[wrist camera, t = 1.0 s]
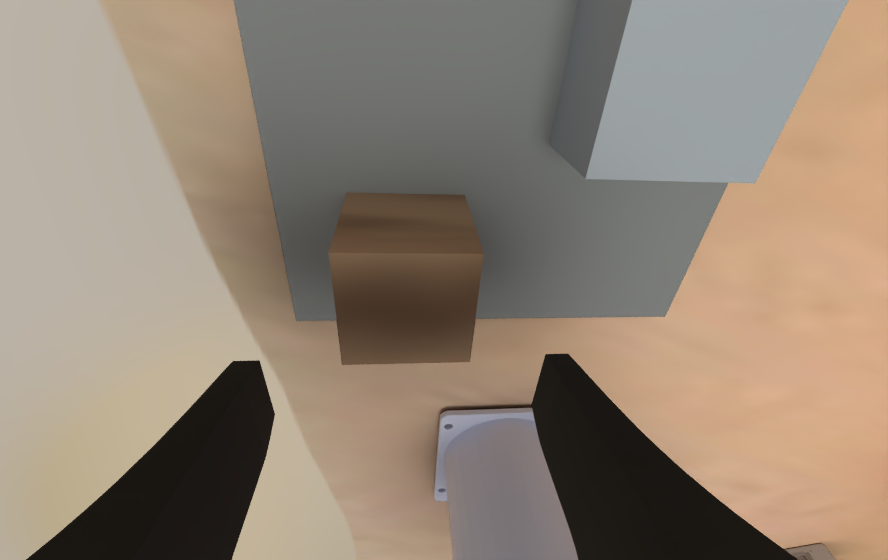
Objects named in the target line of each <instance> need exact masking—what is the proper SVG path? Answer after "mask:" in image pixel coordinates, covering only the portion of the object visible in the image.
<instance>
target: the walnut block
mask: <svg viewBox="0 0 888 560" xmlns="http://www.w3.org/2000/svg"><path fill="white" fill-rule="evenodd" d="M483 257H484V253H483V250H482V247H481V243H480V240H479V237H478V234H477V231H476V228H475V225H474V222H473V219H472V216H471V213H470V210H469V207H468V204H467V201H466V198H465V195H447V194H399V193H350V192H347V193H346V196H345V199H344V203H343V206H342V209H341V213H340V216H339V219H338V223H337V226H336V229H335V233H334V236H333V239H332V243H331V246H330V249H329V262H330V270H331V278H332V286H333V295H334V303H335V311H336V319H337V327H338V336H339V344H340V352H341V360H342V365H352V364H396V363H441V362H470V357H471V349H472V341H473V334H474V326H475V318H476V311H477V303H478V295H479V287H480V280H481V272H482V264H483Z"/></svg>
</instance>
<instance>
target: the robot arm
mask: <svg viewBox="0 0 888 560" xmlns="http://www.w3.org/2000/svg"><path fill="white" fill-rule="evenodd" d="M274 415H275V413H274V410H273V406H272V403H271V400H270V396H269V392H268V389H267V385H266V382H265V378H264V375H263V371H262V368H261V365H260V361H233V362H232V363H231V364H230V365H229V366H228V367H227V368H226V369H225V370H224V371H223V372H222V373H221V375H220V376H219V377H218V378H217V379H216V380H215V381H214V382H213V383H212V385H211V386H210V387H209V388H208V389H207V390H206V391H205V392H204V393H203V394H202V395H201V397H200V398H199V399H198V400H197V401H196V402H195V403H194V404H193V405H192V406H191V407H190V408H189V410H188V411H187V412H186V413H185V414H184V415H183V416H182V417H181V418H180V419H179V420H178V421H177V422H176V423H175V424H174V425H173V426H172V427H171V428H170V429H169V431H168V432H167V433H166V434H165V435H164V436H163V437H162V438H161V439H160V440H159V441H158V442H157V443H156V444H155V445H154V446H153V447H152V448H151V449H150V450H149V451H148V452H147V453H146V454H145V455H144V456H143V457H142V458H141V459H140V460H139V461H138V462H137V463H135V464H134V465H133V466H132V467H131V468H130V469H129V470H128V471H127V472H126V473H125V474H124V475H123V476H122V477H121V478H120V479H119V480H118V481H117V482H116V483H115V484H114V485H113V486H111V487H110V488H109V489H108V490H107V491H106V492H105V493H104V494H103V495H102V496H100V497H99V498H98V499H97V500H96V501H95V502H94V503H93V504H92V505H90V506H89V507H88V508H87V509H86V510H85V511H84V512H83V513H81V514H80V515H79V516H78V517H77V518H76V519H74V520H73V521H72V522H71V523H70V524H69V525H67V526H66V527H65V528H64V529H63V530H62V531H61V532H59V533H58V534H57V535H56V536H55V537H53V538H52V539H51V540H50V541H49V542H47V543H46V544H45V545H44V546H42V547H41V548H40V549H39V550H37V551H36V552H35V553H34V554H33V555H31V556H30V557H29V558H28V559H26V560H232V556H233V553H234V550H235V547H236V544H237V541H238V538H239V535H240V532H241V529H242V526H243V523H244V520H245V518H246V515H247V512H248V509H249V506H250V502H251V500H252V497H253V494H254V491H255V488H256V485H257V482H258V478H259V476H260V473H261V470H262V467H263V464H264V460H265V457H266V454H267V449H268V445H269V440H270V436H271V430H272V426H273V421H274ZM434 499H435V500H436V501H448V510H449V521H450V532H451V543H452V554H453V560H798V559H797V558H795V557H794V556H793V555H791V554H790V553H788V552H787V551H786V550H784V549H783V548H781V547H780V546H779V545H777V544H776V543H774V542H773V541H772V540H770V539H769V538H768V537H766V536H765V535H764V534H762V533H761V532H760V531H758V530H757V529H756V528H754V527H753V526H752V525H750V524H749V523H748V522H746V521H745V520H744V519H742V518H741V517H740V516H738V515H737V514H736V513H734V512H733V511H732V510H731V509H729V508H728V507H727V506H726V505H724V504H723V503H722V502H720V501H719V500H718V499H717V498H716V497H714V496H713V495H712V494H711V493H710V492H708V491H707V490H706V489H705V488H704V487H702V486H701V485H700V484H699V483H698V482H696V481H695V480H694V479H693V478H692V477H690V476H689V475H688V474H687V473H686V472H685V471H683V470H682V469H681V468H680V467H679V466H678V465H677V464H675V463H674V462H673V461H672V460H671V459H670V458H669V457H668V456H667V455H666V454H665V453H664V452H662V451H661V450H660V449H659V448H658V447H657V446H656V445H655V444H654V443H653V442H652V441H651V440H650V439H649V438H648V437H647V436H645V435H644V434H643V433H642V432H641V431H640V430H639V429H638V428H637V427H636V426H635V425H634V424H633V423H632V422H631V420H630V419H629V418H628V417H627V416H626V415H625V414H624V413H623V412H622V411H621V410H620V409H619V408H618V407H617V406H616V405H615V404H614V403H613V402H612V401H611V400H610V399H609V398H608V397H607V396H606V394H605V393H604V392H603V391H602V390H601V389H600V388H599V387H598V386H597V385H596V384H595V383H594V381H593V380H592V379H591V378H590V377H589V376H588V375H587V374H586V373H585V372H584V371H583V369H582V368H581V367H580V366H579V365H578V364H577V363H576V362H575V361H574V360H573V359H572V357H571V356H570V355H569V354H546V355H545V358H544V362H543V366H542V369H541V373H540V376H539V380H538V384H537V387H536V391H535V395H534V398H533V402H532V408H510V409H481V410H452V411H445V412H443V413H442V414H441V415H440V422H439V434H438V447H437V459H436V472H435V484H434Z"/></svg>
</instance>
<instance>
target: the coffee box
mask: <svg viewBox="0 0 888 560" xmlns="http://www.w3.org/2000/svg"><path fill="white" fill-rule="evenodd" d="M785 550H786V551H787V552H788V553H790V554H791V555H793V556H794V557H795V558H797V559H798V560H835V558H834V557H833V556H832V555H831V553H830V552H829V551H828V549H827V548H826V547H825V546H824V544H822V543H819V544H813V545H808V546H802V547H796V548H790V549H785Z"/></svg>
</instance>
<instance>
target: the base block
mask: <svg viewBox="0 0 888 560" xmlns="http://www.w3.org/2000/svg"><path fill="white" fill-rule="evenodd" d="M847 2H848V0H579V2H578V7H577V12H576V17H575V22H574V27H573V32H572V37H571V42H570V47H569V52H568V57H567V62H566V67H565V72H564V77H563V82H562V87H561V92H560V97H559V102H558V107H557V112H556V117H555V122H554V126H553V131H552V136H551V141H550V146H551V147H552V148H553V149H554V150H555V151H556V152H557V153H558V154H560V155H561V156H562V157H563V158H564V159H565V160H566V161H567V162H568V163H569V164H570V165H571V166H572V167H573V168H574V169H575V170H576V171H577V172H579V173H580V174H581V175H582V176H583V177H584V178H585V179H605V180H644V181H683V182H723V183H755V182H756V180H757V179H758V177H759V175H760V173H761V171H762V169H763V167H764V165H765V163H766V161H767V159H768V157H769V155H770V153H771V151H772V149H773V147H774V145H775V143H776V141H777V139H778V137H779V135H780V133H781V132H782V130H783V128H784V126H785V124H786V122H787V120H788V118H789V116H790V114H791V112H792V110H793V108H794V106H795V104H796V102H797V100H798V98H799V96H800V94H801V92H802V90H803V88H804V86H805V85H806V83H807V81H808V79H809V77H810V75H811V73H812V71H813V69H814V67H815V65H816V63H817V61H818V59H819V57H820V55H821V53H822V51H823V49H824V47H825V45H826V43H827V41H828V40H829V38H830V36H831V34H832V32H833V30H834V28H835V26H836V24H837V22H838V20H839V18H840V16H841V14H842V12H843V10H844V8H845V6H846V4H847Z"/></svg>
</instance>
